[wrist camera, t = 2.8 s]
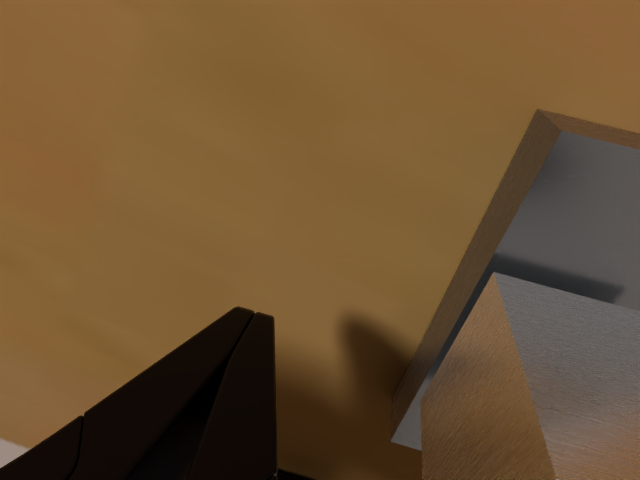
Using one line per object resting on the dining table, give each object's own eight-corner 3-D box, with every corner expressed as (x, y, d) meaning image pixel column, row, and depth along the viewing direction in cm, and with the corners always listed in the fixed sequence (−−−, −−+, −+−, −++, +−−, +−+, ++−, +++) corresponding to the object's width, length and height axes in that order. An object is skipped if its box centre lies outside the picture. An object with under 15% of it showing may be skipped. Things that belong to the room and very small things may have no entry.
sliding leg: (534, 433, 10) (600, 667, 6) (420, 400, 10) (425, 610, 7) (645, 313, 8) (846, 584, 4) (493, 272, 8) (562, 497, 4)
